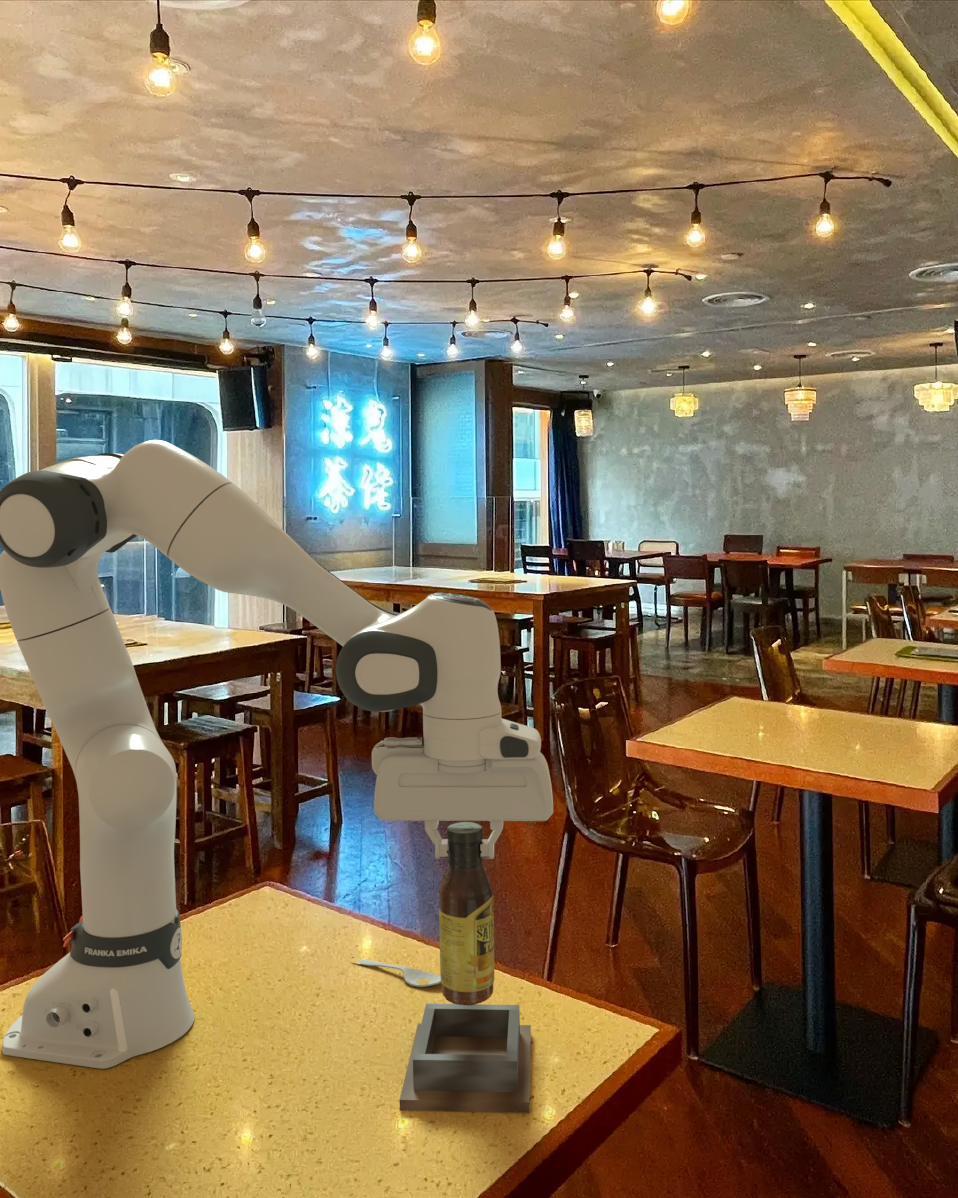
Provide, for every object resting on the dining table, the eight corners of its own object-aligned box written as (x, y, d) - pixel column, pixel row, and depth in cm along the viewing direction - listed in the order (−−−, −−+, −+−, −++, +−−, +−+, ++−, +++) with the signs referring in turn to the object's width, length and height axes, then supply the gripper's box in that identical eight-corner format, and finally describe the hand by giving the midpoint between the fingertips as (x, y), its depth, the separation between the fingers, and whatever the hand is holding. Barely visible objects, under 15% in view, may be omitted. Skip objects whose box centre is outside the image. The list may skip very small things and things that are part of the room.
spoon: (434, 998, 131) (433, 986, 131) (320, 961, 143) (320, 950, 142) (452, 985, 134) (451, 973, 134) (340, 950, 146) (339, 939, 146)
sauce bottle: (489, 1011, 109) (485, 840, 106) (434, 1006, 110) (430, 837, 108) (499, 981, 115) (496, 819, 113) (448, 977, 117) (444, 817, 114)
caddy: (399, 1110, 105) (398, 1068, 105) (418, 1032, 121) (417, 996, 121) (529, 1113, 104) (528, 1071, 104) (530, 1034, 120) (530, 998, 120)
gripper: (366, 743, 107) (369, 866, 108) (552, 743, 106) (554, 867, 107) (375, 731, 113) (378, 847, 115) (552, 730, 112) (553, 848, 113)
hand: (464, 857), depth 111 cm, fingers closed on sauce bottle, 4 cm apart
